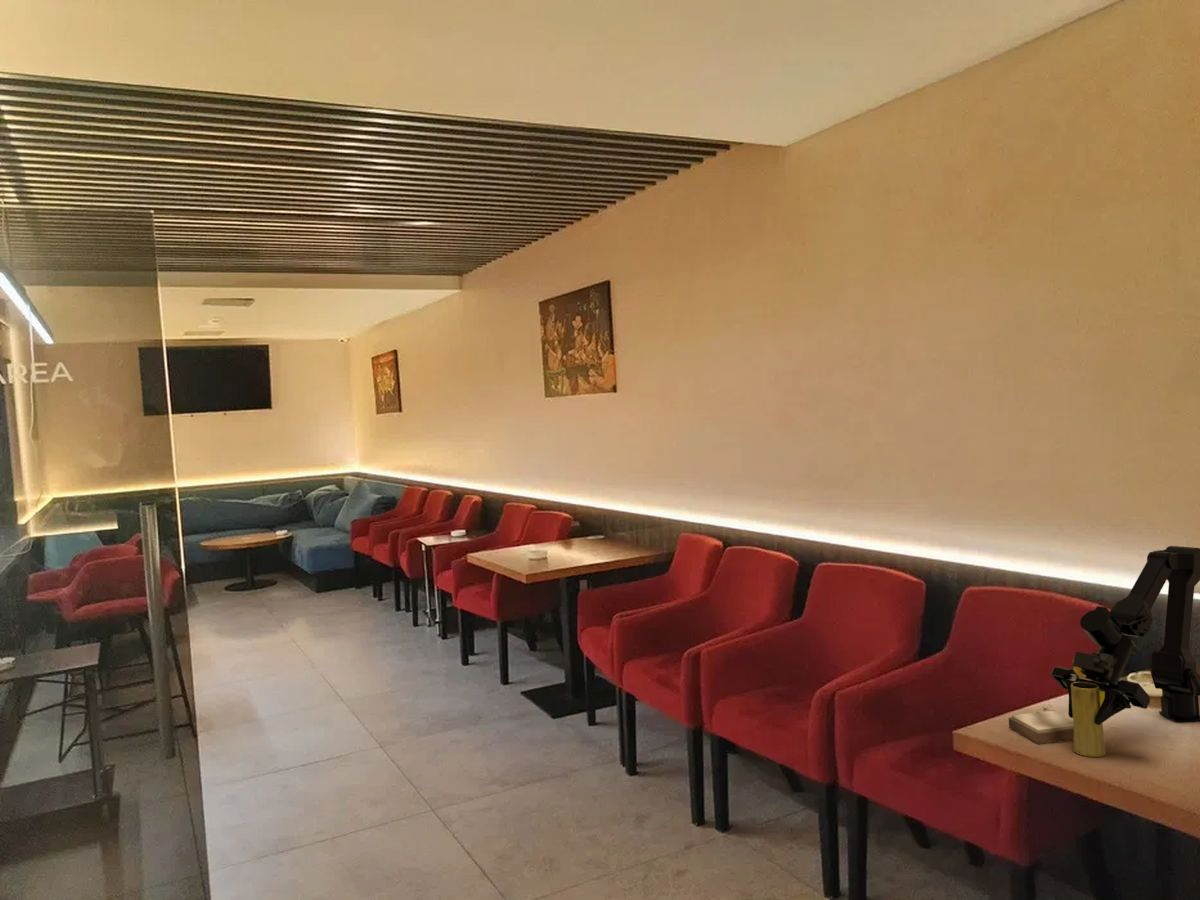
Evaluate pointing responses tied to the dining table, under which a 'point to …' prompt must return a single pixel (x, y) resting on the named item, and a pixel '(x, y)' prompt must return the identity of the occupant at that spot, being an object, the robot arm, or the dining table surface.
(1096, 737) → the vase
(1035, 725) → the stand
